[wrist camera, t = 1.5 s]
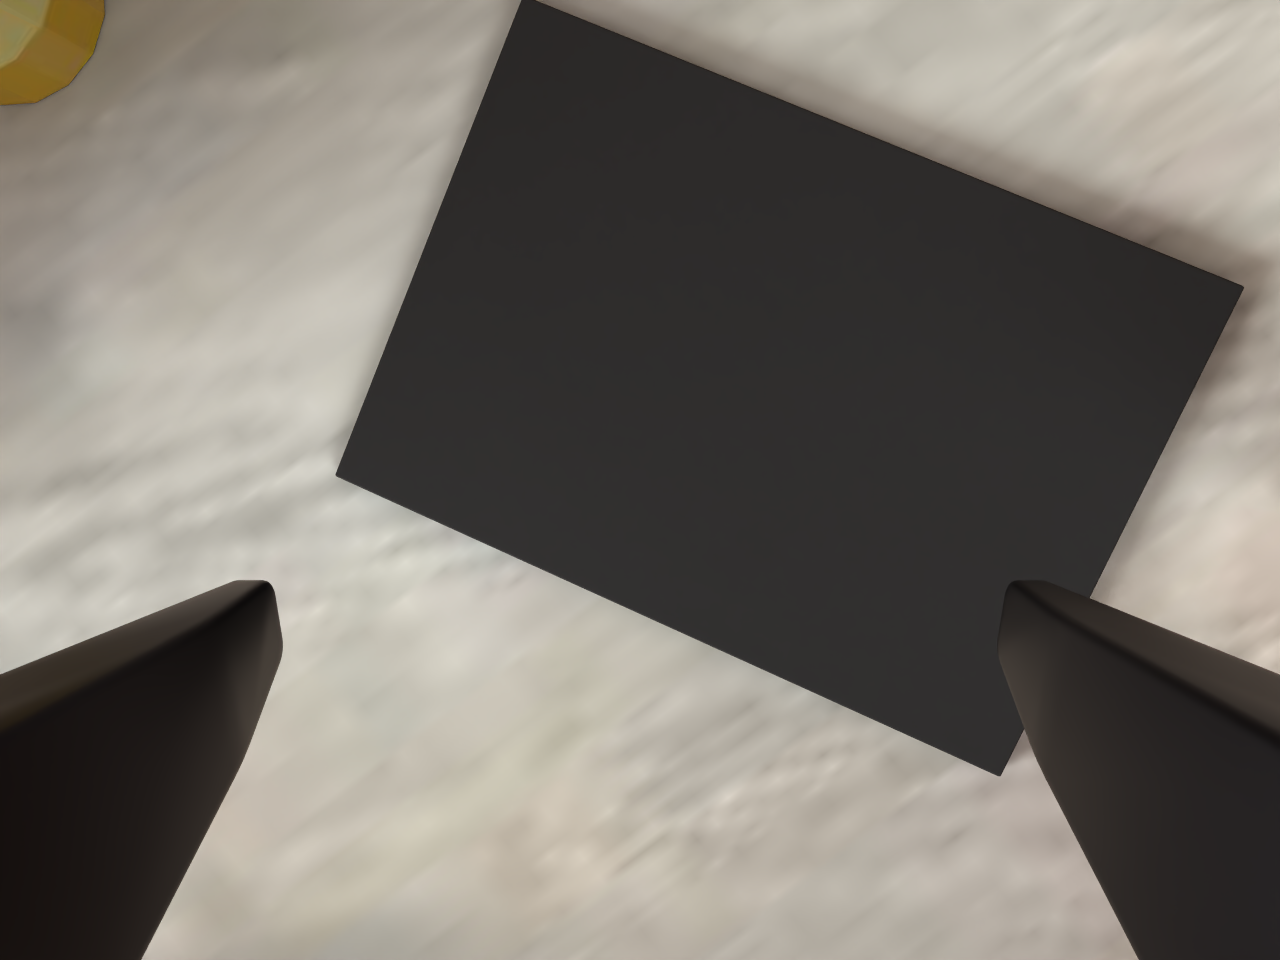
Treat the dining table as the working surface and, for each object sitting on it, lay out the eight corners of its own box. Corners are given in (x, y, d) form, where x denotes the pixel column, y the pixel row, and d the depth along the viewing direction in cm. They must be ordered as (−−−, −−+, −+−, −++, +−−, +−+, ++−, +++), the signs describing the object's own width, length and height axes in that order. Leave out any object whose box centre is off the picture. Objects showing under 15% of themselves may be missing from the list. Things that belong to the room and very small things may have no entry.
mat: (995, 770, 25) (1000, 777, 24) (341, 474, 26) (333, 475, 26) (1235, 288, 23) (1246, 286, 23) (527, 3, 25) (522, -6, 24)
